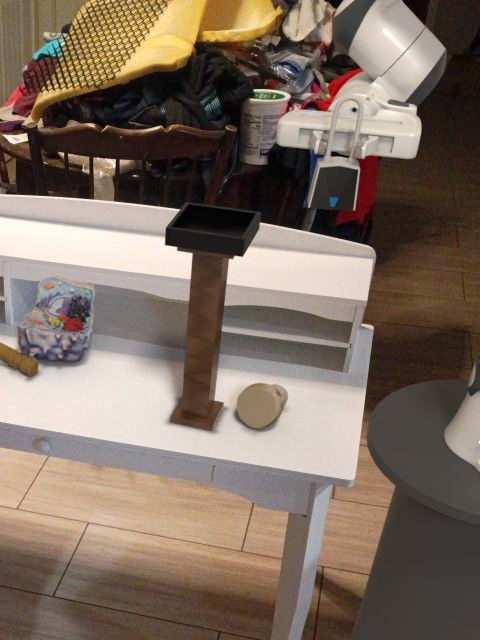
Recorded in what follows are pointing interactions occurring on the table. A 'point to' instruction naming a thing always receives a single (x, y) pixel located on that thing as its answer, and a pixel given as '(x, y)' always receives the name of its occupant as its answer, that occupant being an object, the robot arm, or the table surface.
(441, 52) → the robot arm
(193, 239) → the dark tray
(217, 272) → the stand
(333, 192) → the padlock
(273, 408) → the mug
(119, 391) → the table surface
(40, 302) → the cell model
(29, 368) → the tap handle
